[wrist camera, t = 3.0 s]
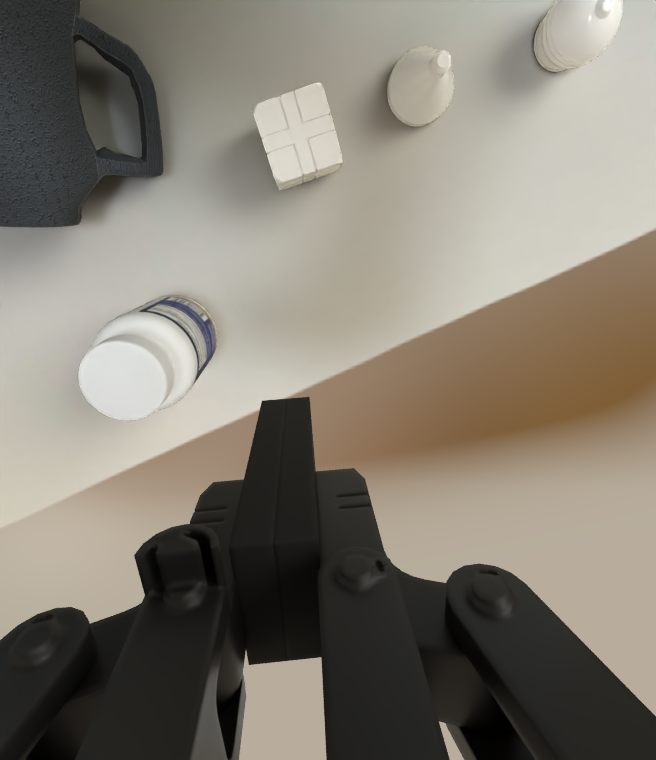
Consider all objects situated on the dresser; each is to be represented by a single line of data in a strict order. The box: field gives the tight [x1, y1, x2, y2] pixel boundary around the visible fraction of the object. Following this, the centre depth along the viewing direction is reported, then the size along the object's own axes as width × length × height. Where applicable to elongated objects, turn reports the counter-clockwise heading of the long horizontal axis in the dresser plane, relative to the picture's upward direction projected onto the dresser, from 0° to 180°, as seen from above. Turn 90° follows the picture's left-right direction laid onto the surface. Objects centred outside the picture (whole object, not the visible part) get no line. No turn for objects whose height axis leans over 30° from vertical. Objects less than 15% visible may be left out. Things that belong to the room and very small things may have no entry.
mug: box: [0, 0, 163, 227], centre depth 21 cm, size 12×9×11 cm
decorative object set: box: [252, 0, 623, 191], centre depth 22 cm, size 5×20×4 cm, turn 108°
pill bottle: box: [78, 296, 217, 421], centre depth 24 cm, size 5×5×10 cm
